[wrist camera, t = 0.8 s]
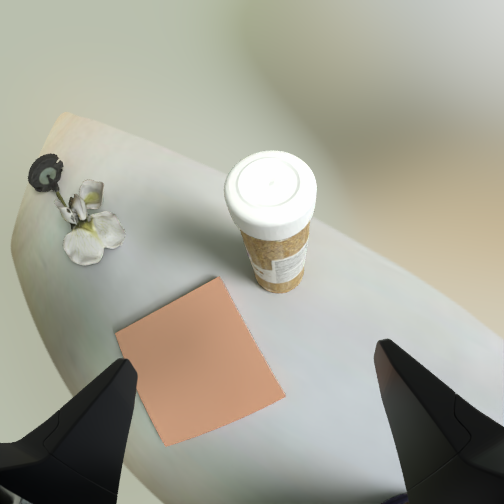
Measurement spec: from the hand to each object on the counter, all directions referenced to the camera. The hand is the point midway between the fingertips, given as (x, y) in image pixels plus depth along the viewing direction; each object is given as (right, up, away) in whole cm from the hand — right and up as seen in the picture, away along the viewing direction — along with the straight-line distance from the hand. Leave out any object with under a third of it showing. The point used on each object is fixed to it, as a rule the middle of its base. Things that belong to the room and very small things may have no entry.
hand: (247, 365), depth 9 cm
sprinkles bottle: (+3, +2, +17) cm, 17 cm away
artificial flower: (-23, +10, +24) cm, 35 cm away
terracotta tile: (-5, -6, +14) cm, 16 cm away
